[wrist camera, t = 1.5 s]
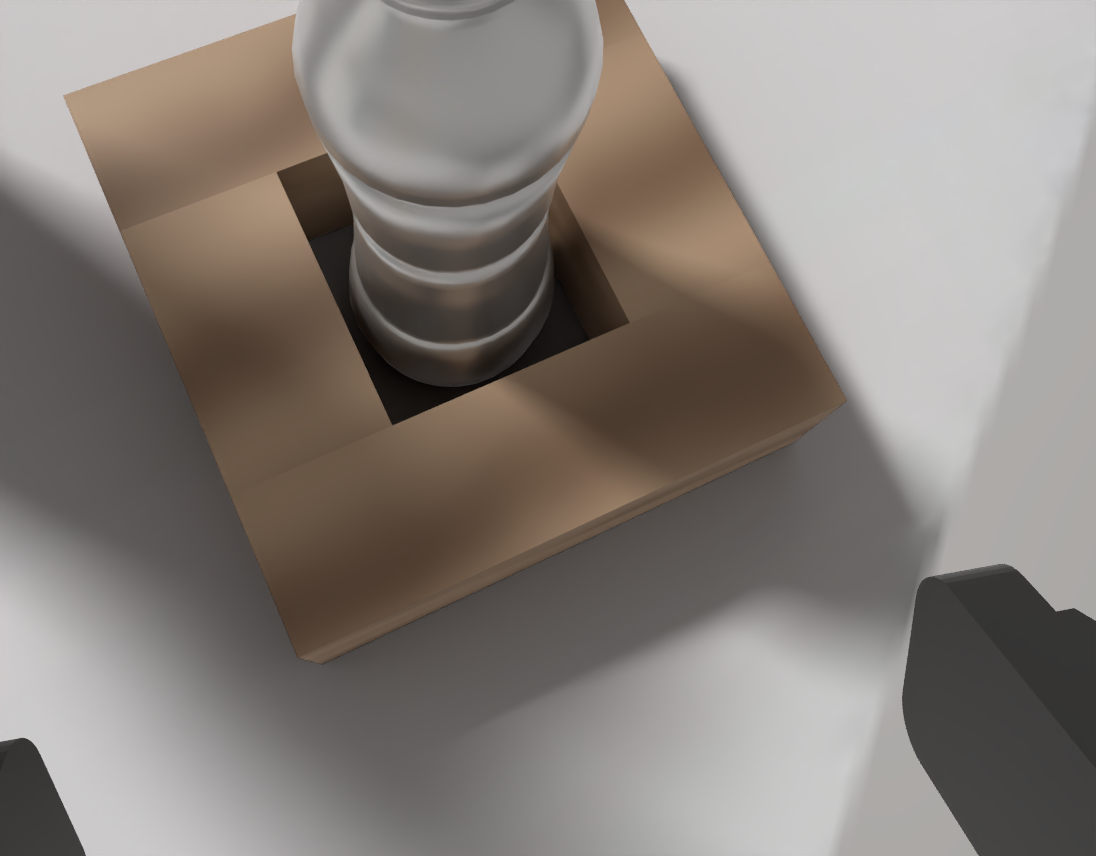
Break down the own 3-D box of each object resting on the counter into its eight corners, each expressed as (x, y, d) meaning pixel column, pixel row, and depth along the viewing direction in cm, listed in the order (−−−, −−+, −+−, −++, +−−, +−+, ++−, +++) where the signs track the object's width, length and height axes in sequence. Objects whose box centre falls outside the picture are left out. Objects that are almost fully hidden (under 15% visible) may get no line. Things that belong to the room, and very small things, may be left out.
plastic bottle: (326, 367, 35) (158, -52, 15) (398, 193, 36) (328, -378, 17) (511, 430, 35) (573, 89, 15) (573, 252, 36) (700, -253, 17)
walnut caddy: (116, 177, 36) (62, 95, 31) (562, 13, 39) (576, -85, 34) (322, 664, 32) (297, 658, 27) (794, 441, 35) (847, 400, 31)
